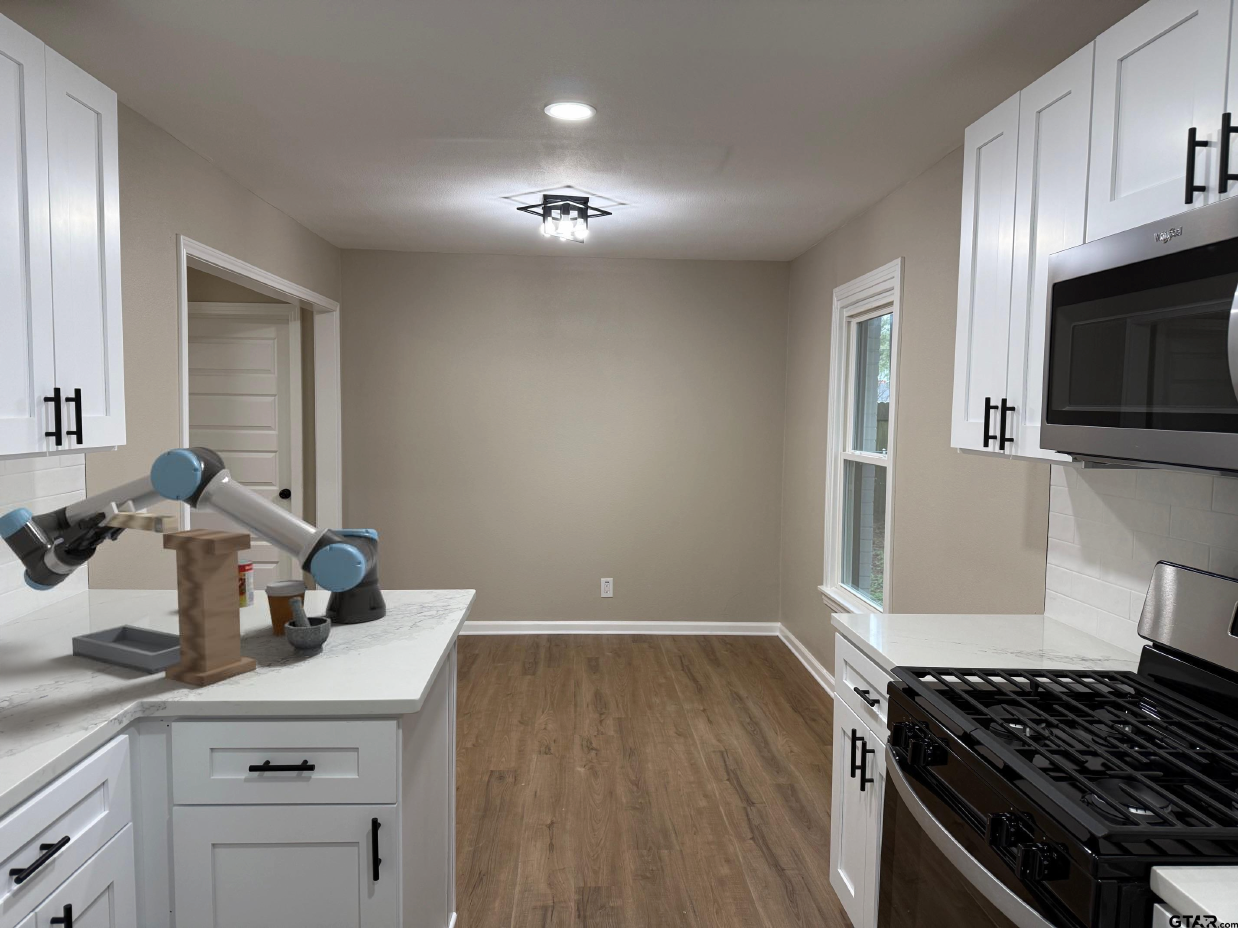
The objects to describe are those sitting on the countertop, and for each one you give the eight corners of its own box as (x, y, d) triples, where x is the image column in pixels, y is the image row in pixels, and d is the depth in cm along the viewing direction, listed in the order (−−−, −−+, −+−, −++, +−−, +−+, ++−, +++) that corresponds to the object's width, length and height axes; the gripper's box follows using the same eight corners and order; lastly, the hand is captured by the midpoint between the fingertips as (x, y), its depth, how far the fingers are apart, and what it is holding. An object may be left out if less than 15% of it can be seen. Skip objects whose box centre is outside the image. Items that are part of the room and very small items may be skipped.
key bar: (93, 524, 179) (93, 511, 178) (111, 522, 182) (111, 509, 182) (162, 533, 168) (162, 518, 168) (180, 530, 171) (180, 516, 171)
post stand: (159, 675, 165) (153, 535, 163) (212, 659, 176) (207, 527, 173) (211, 688, 158) (205, 541, 156) (262, 670, 168) (258, 532, 166)
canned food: (226, 602, 227) (224, 559, 226) (256, 600, 229) (255, 558, 228) (219, 608, 219) (217, 565, 218) (250, 607, 221) (249, 563, 220)
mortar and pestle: (339, 651, 181) (338, 598, 181) (301, 661, 174) (300, 607, 173) (311, 642, 188) (310, 591, 187) (273, 652, 181) (272, 599, 180)
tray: (72, 655, 178) (72, 637, 178) (126, 641, 189) (126, 624, 189) (152, 674, 166) (152, 655, 165) (205, 658, 176) (205, 640, 176)
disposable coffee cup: (282, 639, 190) (281, 589, 190) (257, 633, 196) (256, 584, 195) (316, 630, 199) (315, 582, 198) (292, 624, 204) (290, 577, 203)
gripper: (111, 560, 193) (164, 517, 183) (38, 572, 179) (91, 527, 169) (101, 532, 194) (153, 488, 184) (27, 542, 180) (79, 495, 170)
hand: (123, 507), depth 177 cm, fingers closed on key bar, 3 cm apart
